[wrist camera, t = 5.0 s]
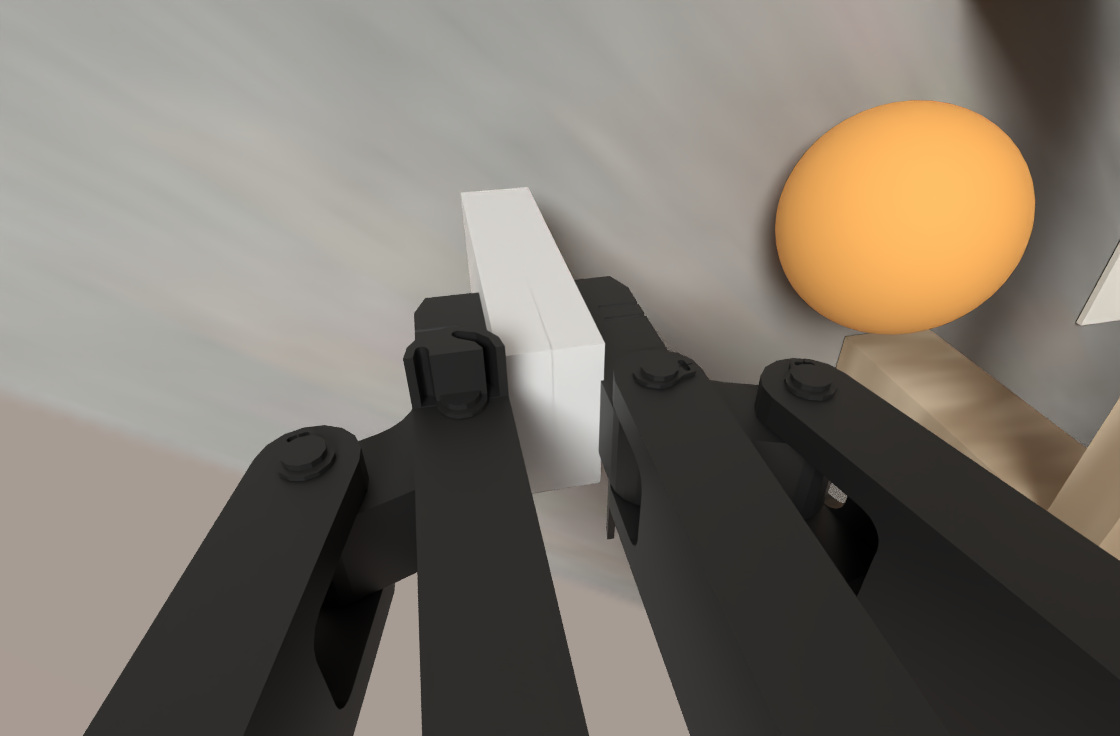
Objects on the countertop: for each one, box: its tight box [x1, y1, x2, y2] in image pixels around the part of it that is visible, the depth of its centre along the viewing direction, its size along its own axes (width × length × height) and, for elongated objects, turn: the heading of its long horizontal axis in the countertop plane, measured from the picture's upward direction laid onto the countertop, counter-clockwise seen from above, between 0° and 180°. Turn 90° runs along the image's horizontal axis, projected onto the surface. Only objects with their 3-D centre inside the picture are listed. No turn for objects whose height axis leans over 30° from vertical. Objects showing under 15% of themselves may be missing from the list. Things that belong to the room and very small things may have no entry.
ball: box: [775, 100, 1035, 335], centre depth 15 cm, size 6×6×6 cm
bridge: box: [836, 329, 1120, 560], centre depth 14 cm, size 3×14×9 cm, turn 0°
